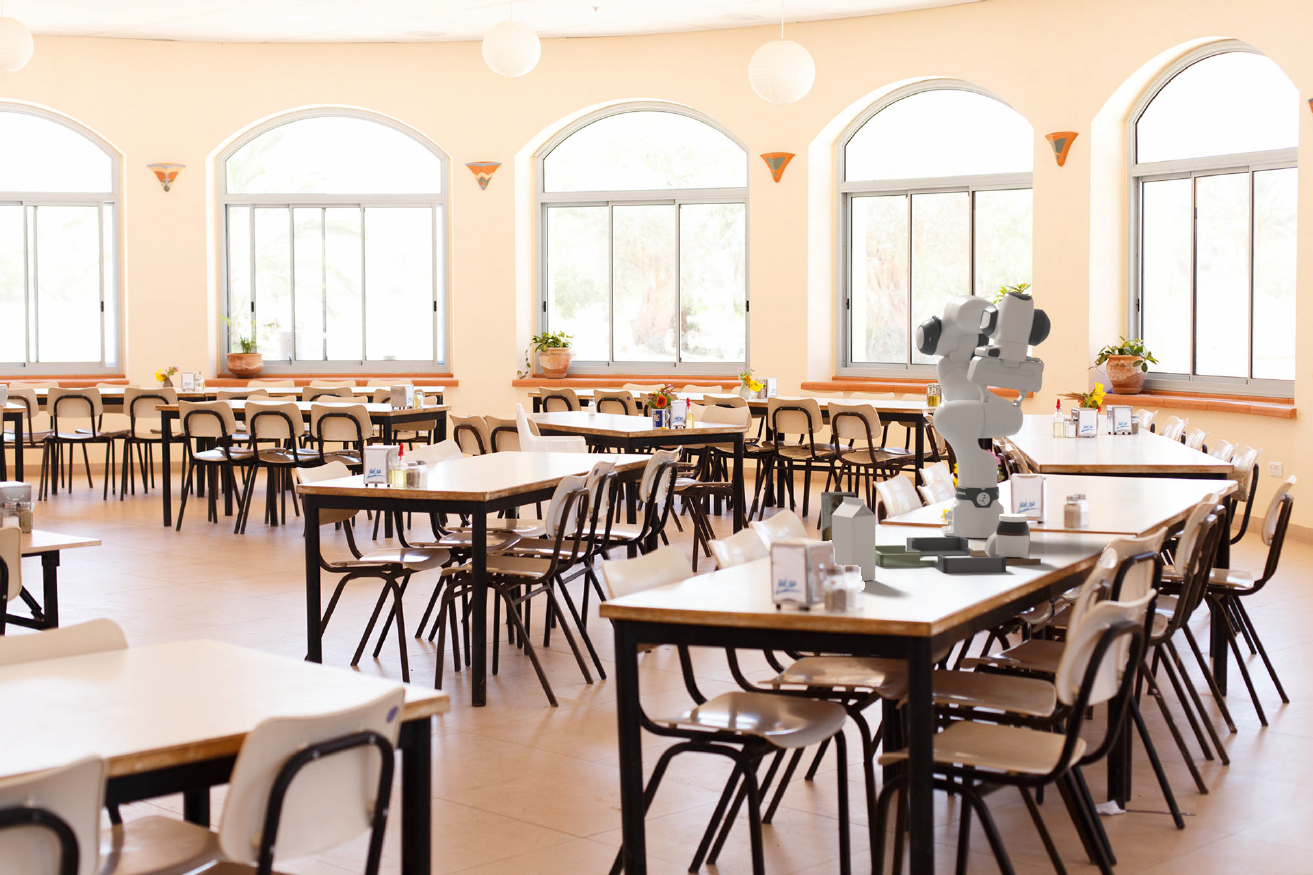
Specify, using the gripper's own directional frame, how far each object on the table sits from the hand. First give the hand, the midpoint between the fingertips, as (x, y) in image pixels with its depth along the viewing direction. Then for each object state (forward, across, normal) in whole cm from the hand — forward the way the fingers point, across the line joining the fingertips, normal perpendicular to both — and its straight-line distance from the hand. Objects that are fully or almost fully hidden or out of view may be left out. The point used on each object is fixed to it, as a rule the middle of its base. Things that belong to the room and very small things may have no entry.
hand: (1000, 404), depth 352 cm
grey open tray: (+40, +14, +8) cm, 43 cm away
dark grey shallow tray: (+39, +18, +36) cm, 56 cm away
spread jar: (+38, +2, +24) cm, 45 cm away
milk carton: (+43, +49, +43) cm, 79 cm away
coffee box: (+44, +40, +4) cm, 60 cm away
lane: (+40, +16, +22) cm, 48 cm away
